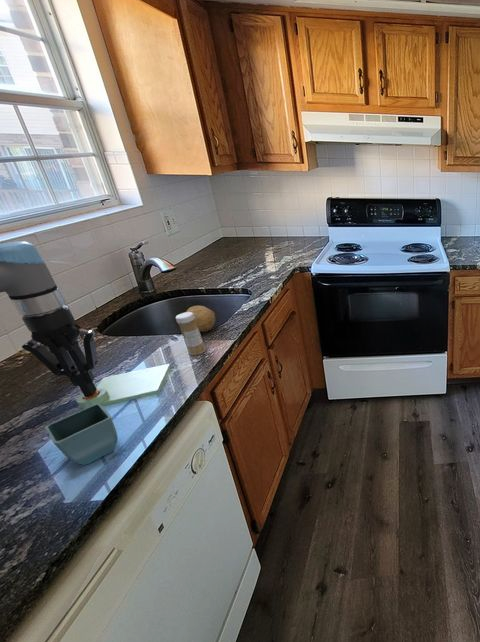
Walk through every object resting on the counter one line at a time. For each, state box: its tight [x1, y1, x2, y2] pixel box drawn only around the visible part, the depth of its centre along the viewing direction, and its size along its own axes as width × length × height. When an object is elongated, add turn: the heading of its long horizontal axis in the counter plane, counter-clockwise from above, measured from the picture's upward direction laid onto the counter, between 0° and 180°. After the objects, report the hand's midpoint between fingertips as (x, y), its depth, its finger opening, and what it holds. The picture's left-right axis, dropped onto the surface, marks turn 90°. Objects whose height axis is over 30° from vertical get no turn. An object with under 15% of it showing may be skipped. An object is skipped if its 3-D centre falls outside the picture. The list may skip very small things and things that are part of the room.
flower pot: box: [44, 403, 118, 466], centre depth 77 cm, size 9×9×9 cm
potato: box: [185, 305, 216, 333], centre depth 128 cm, size 10×14×8 cm
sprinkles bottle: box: [175, 311, 207, 356], centre depth 113 cm, size 5×5×14 cm
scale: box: [75, 363, 172, 410], centre depth 99 cm, size 17×15×3 cm
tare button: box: [84, 391, 99, 400], centre depth 93 cm, size 3×3×2 cm
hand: (91, 393), depth 93 cm, fingers closed
